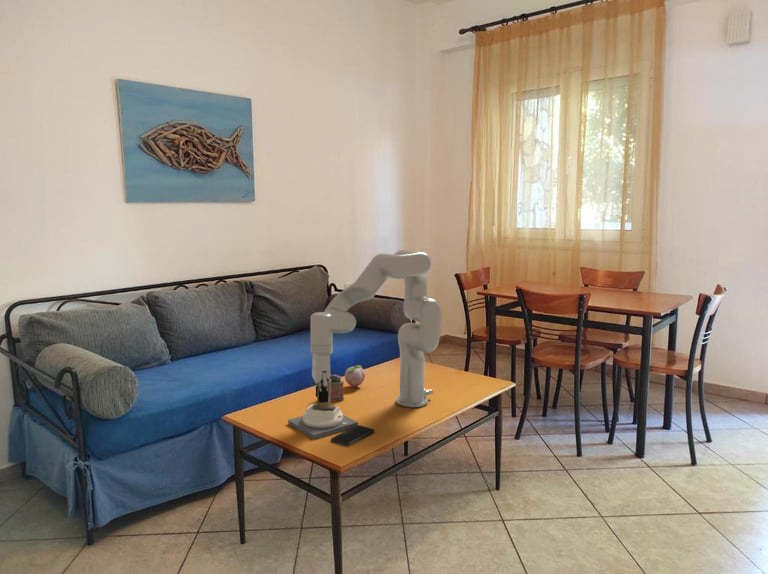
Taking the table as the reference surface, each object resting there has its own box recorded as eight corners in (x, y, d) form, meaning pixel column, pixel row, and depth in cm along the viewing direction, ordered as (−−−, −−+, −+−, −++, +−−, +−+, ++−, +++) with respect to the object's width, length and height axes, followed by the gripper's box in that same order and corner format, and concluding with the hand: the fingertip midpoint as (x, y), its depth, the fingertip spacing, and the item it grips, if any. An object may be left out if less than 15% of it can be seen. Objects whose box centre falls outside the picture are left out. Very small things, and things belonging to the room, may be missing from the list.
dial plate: (331, 412, 205) (331, 408, 204) (357, 426, 192) (357, 421, 191) (288, 423, 194) (288, 419, 193) (313, 439, 180) (313, 434, 180)
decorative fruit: (351, 382, 240) (351, 360, 238) (367, 385, 236) (368, 363, 235) (340, 389, 231) (340, 366, 230) (357, 391, 228) (357, 368, 227)
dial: (296, 425, 188) (295, 413, 187) (312, 411, 201) (312, 399, 200) (334, 430, 184) (334, 417, 183) (348, 415, 197) (348, 403, 197)
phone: (375, 430, 187) (347, 444, 175) (375, 433, 187) (347, 448, 175) (357, 424, 191) (329, 438, 179) (357, 427, 191) (329, 442, 179)
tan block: (315, 411, 194) (316, 378, 193) (334, 412, 194) (335, 380, 192) (312, 415, 190) (313, 382, 189) (332, 417, 190) (333, 383, 188)
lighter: (345, 398, 219) (344, 374, 218) (341, 401, 216) (341, 377, 215) (326, 396, 222) (326, 372, 221) (323, 399, 219) (322, 375, 218)
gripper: (306, 343, 196) (307, 392, 198) (314, 355, 179) (315, 408, 182) (327, 342, 198) (327, 390, 200) (337, 353, 182) (337, 406, 184)
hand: (321, 398), depth 191 cm, fingers closed on tan block, 5 cm apart
